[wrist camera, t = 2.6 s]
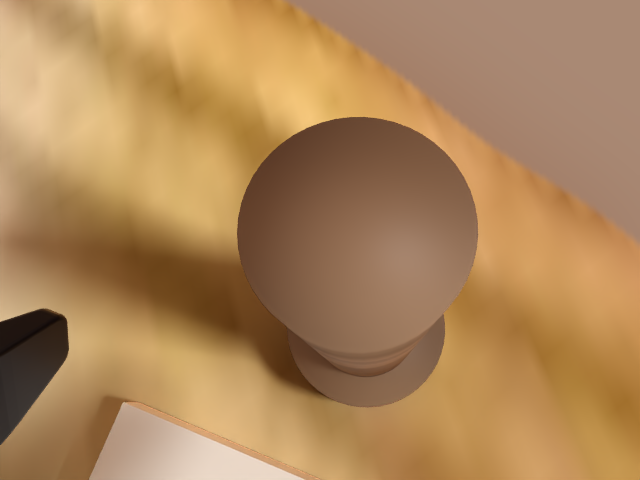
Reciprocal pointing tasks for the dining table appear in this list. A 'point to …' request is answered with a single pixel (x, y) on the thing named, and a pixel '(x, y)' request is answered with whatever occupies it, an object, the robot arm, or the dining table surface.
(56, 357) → the robot arm
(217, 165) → the dining table surface
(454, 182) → the tamper
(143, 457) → the tile
